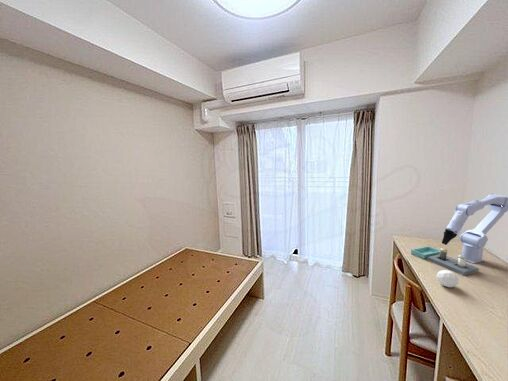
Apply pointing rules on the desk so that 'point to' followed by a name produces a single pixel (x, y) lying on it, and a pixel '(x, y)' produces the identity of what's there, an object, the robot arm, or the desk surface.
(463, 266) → the fuse
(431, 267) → the desk surface
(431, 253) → the tray
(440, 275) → the geometric ball
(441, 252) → the led light bulb
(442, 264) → the fuse block
